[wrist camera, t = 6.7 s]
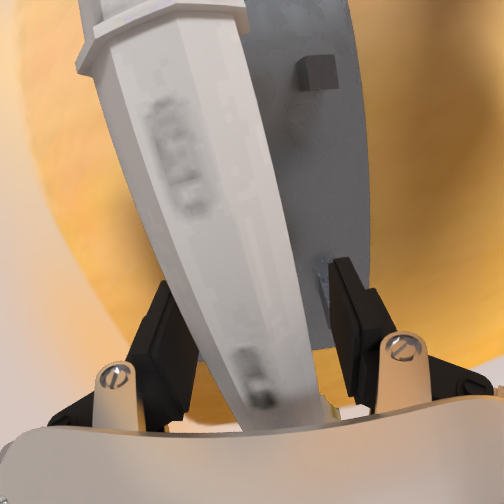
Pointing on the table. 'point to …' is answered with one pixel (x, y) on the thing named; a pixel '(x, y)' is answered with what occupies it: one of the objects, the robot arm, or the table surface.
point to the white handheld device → (207, 195)
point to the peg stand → (313, 139)
